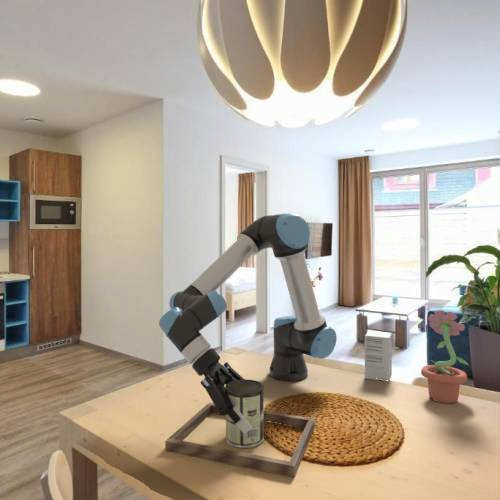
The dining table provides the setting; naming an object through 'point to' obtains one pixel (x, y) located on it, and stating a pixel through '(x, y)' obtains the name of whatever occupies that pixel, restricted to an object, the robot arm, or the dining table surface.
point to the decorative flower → (441, 375)
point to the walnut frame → (240, 458)
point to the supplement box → (378, 355)
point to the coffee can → (246, 413)
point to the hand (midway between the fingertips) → (255, 421)
